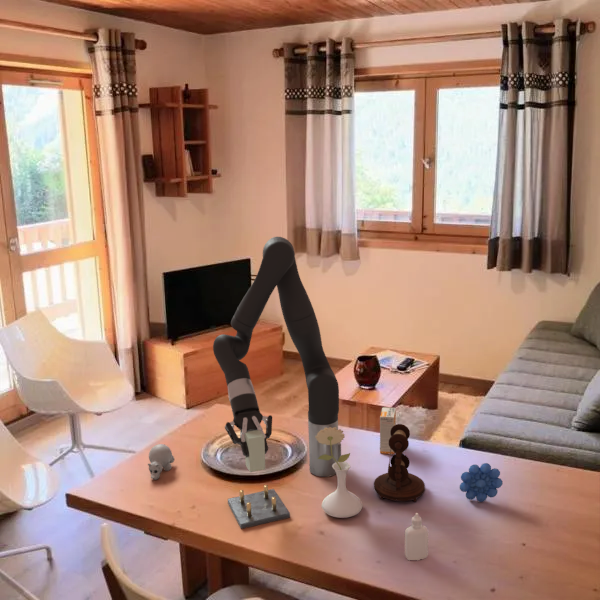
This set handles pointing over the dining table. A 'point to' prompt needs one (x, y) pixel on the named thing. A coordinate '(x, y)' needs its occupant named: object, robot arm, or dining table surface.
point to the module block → (255, 451)
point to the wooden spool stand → (399, 471)
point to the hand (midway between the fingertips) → (256, 454)
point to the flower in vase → (341, 499)
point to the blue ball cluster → (480, 482)
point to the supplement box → (386, 428)
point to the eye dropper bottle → (416, 540)
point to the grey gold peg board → (258, 508)
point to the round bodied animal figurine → (160, 460)
